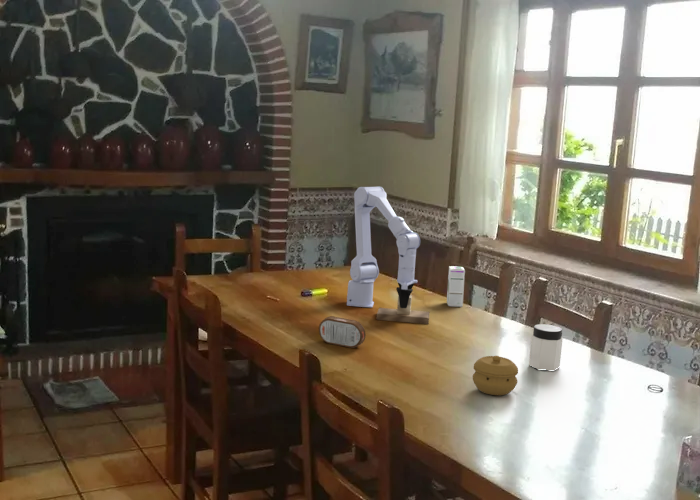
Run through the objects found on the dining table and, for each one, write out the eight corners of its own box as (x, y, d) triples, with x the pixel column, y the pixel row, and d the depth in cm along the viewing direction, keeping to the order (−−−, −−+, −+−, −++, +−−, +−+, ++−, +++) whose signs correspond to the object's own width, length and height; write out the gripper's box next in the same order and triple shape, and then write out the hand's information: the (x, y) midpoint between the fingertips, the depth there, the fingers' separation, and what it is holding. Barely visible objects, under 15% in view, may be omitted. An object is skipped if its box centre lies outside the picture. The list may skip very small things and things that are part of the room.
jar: (565, 370, 236) (569, 330, 234) (542, 373, 233) (547, 333, 230) (545, 361, 244) (549, 322, 242) (523, 363, 240) (527, 324, 238)
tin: (365, 348, 247) (366, 321, 246) (361, 350, 244) (362, 323, 243) (321, 339, 253) (322, 313, 252) (316, 342, 251) (318, 315, 249)
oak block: (397, 313, 282) (398, 296, 281) (397, 310, 286) (399, 294, 285) (409, 314, 281) (411, 298, 280) (410, 311, 286) (411, 295, 285)
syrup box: (462, 307, 306) (465, 269, 303) (447, 306, 306) (450, 268, 303) (461, 303, 311) (464, 266, 309) (445, 302, 311) (448, 265, 309)
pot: (469, 383, 220) (472, 348, 219) (512, 386, 220) (515, 350, 218) (474, 398, 209) (477, 361, 207) (519, 401, 209) (523, 364, 207)
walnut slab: (376, 319, 281) (376, 313, 280) (378, 313, 290) (379, 307, 289) (428, 324, 279) (428, 318, 278) (429, 317, 288) (429, 311, 287)
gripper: (417, 272, 273) (414, 311, 276) (418, 264, 288) (416, 301, 290) (396, 270, 274) (393, 309, 277) (399, 262, 288) (396, 299, 291)
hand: (404, 305), depth 283 cm, fingers open, 7 cm apart
